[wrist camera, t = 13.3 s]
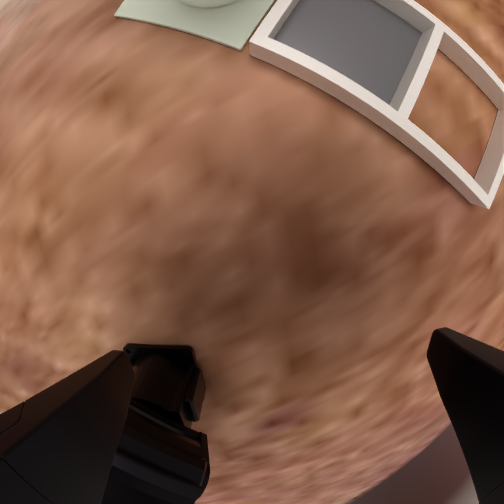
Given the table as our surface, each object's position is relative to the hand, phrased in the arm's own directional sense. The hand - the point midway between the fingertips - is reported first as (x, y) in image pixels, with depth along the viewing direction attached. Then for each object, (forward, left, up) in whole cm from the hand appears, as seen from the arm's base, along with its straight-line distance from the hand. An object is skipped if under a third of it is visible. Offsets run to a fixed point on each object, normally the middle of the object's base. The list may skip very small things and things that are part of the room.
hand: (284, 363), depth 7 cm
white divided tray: (+6, +15, -13) cm, 21 cm away
